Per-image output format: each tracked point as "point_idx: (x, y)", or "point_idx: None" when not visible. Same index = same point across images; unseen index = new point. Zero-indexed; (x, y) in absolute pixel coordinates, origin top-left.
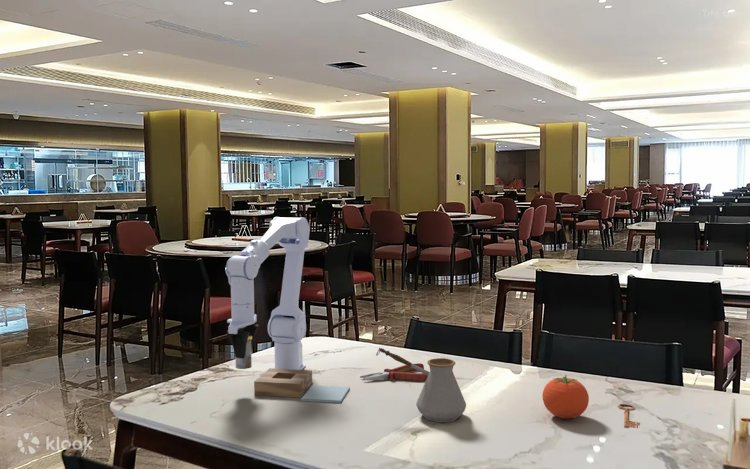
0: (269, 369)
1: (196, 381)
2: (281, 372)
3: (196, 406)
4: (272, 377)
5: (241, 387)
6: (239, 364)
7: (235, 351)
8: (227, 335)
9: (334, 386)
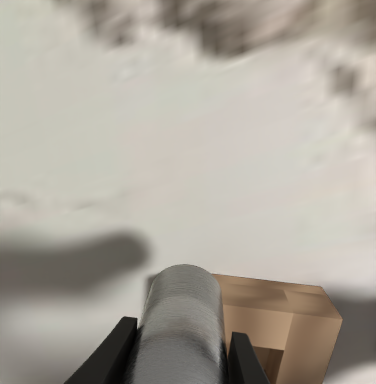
0: (325, 322)
1: (338, 11)
2: (283, 361)
3: (52, 129)
4: (227, 341)
5: (252, 217)
6: (146, 301)
7: (101, 350)
8: None
9: None
